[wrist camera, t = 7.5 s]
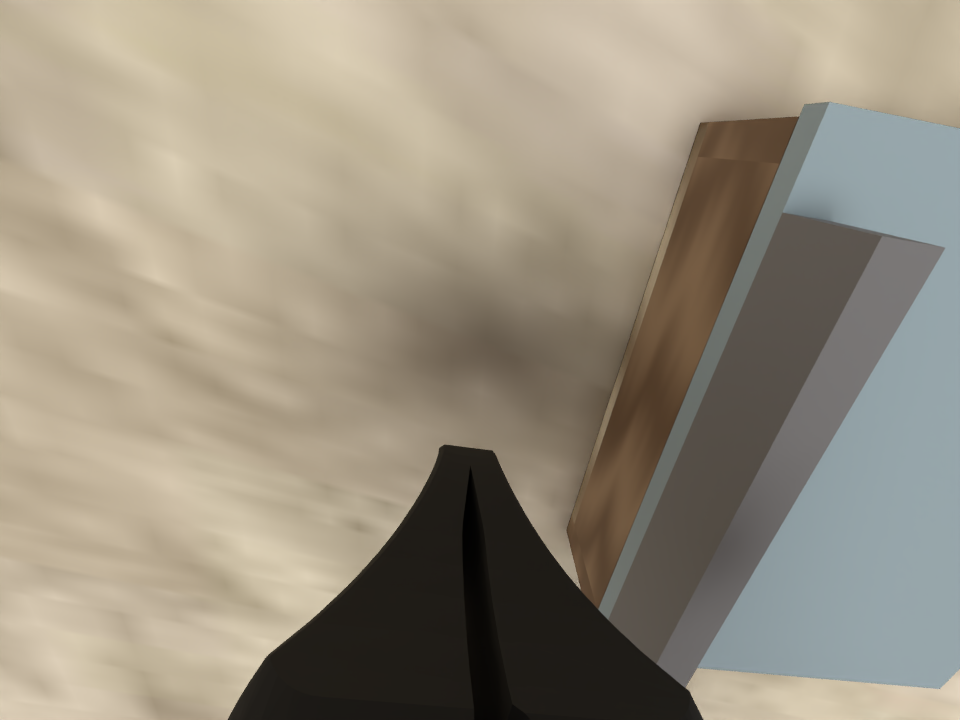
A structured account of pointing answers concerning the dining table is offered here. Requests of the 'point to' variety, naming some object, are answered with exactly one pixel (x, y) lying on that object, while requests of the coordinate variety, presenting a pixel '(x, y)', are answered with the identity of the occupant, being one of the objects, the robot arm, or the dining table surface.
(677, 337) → the box
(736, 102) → the dining table surface
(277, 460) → the dining table surface
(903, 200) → the lid
